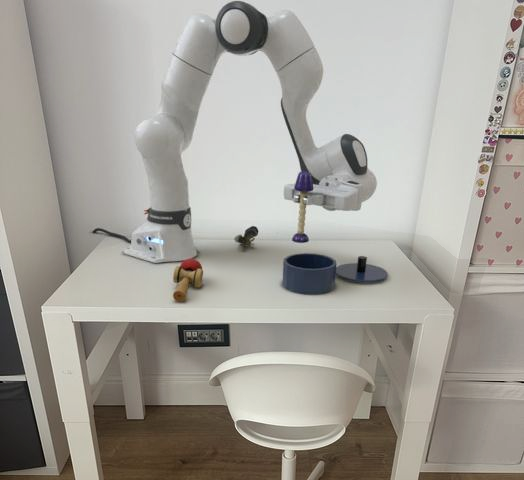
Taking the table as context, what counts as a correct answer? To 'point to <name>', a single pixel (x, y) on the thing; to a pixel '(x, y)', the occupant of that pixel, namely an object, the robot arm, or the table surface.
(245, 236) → the eagle figurine
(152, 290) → the table surface
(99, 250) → the table surface
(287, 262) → the pot
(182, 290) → the kendama
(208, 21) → the robot arm
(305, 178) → the toy lamp
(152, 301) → the table surface
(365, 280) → the lid
